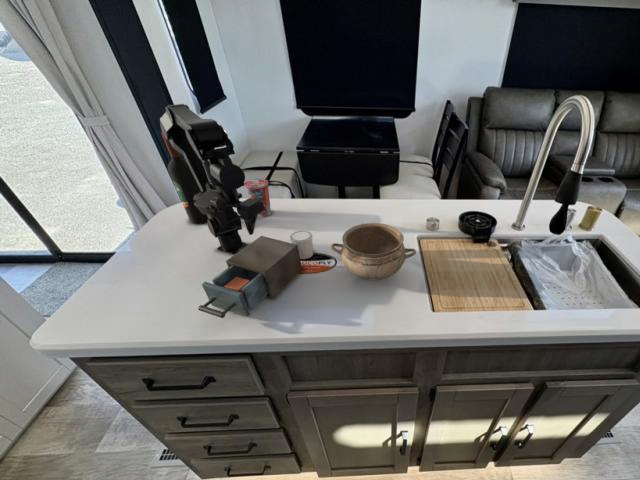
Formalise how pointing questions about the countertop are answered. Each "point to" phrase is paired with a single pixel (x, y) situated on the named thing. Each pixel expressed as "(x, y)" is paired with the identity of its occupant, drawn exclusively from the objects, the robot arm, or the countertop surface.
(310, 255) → the white short cylinder
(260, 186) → the cup
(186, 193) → the wine bottle
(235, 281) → the block
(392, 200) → the countertop surface
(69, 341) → the countertop surface
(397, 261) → the cooking pot
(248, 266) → the cabinet
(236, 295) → the drawer
